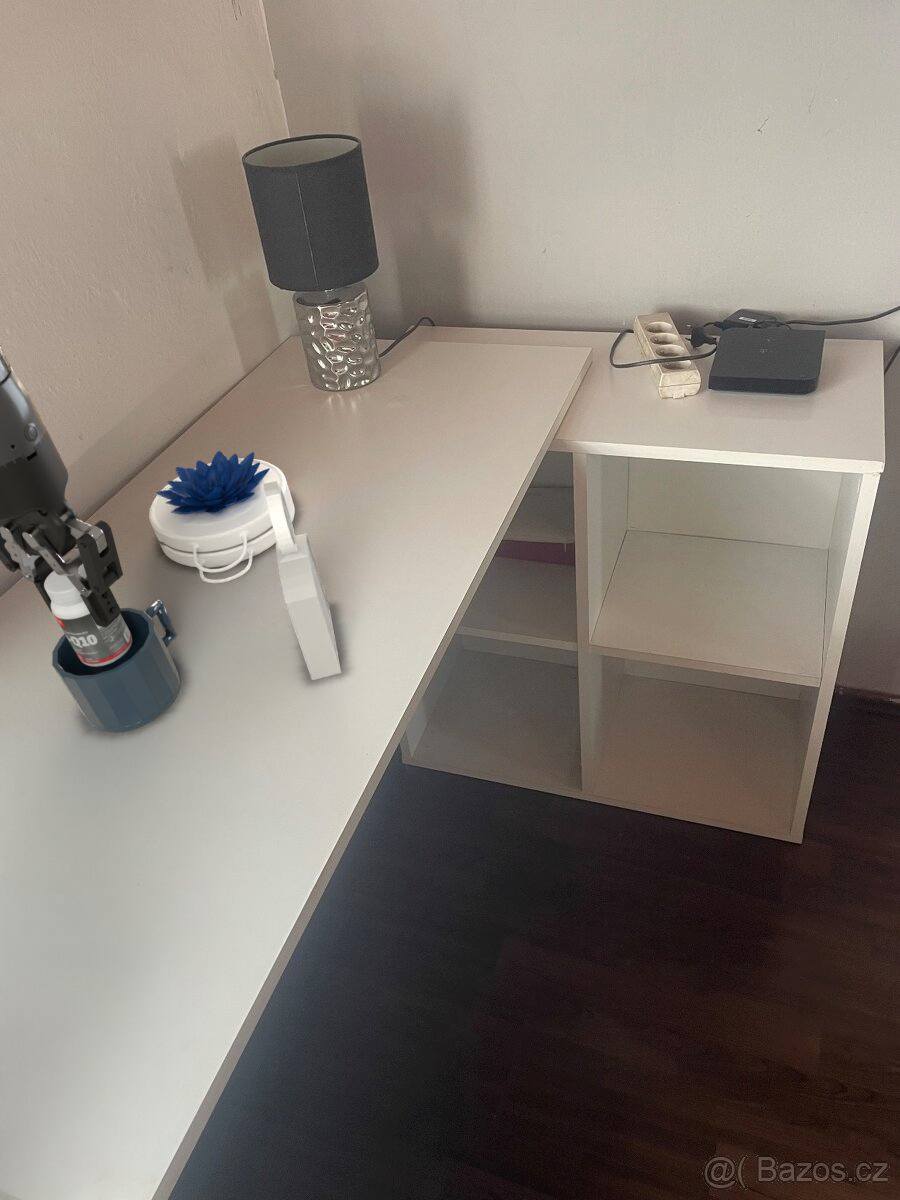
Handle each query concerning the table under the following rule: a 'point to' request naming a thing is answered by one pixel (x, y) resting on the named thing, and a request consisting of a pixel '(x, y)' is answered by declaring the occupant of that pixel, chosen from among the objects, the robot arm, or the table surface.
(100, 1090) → the table surface
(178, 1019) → the table surface
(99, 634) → the pill bottle
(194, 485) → the white round gift box
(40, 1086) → the table surface
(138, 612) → the mug
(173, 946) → the table surface
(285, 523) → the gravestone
